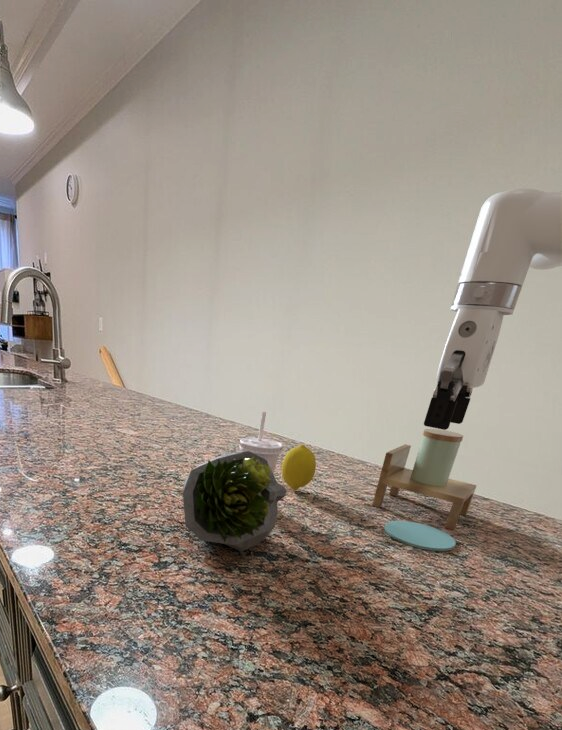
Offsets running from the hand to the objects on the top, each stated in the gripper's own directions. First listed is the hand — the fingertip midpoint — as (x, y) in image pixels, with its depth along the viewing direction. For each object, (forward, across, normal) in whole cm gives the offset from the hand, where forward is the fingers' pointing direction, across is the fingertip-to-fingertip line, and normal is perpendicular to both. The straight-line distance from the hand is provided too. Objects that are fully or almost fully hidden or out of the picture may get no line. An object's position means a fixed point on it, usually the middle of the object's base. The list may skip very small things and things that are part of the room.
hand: (443, 424), depth 68 cm
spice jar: (+9, 0, 0) cm, 9 cm away
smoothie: (+15, -21, +18) cm, 31 cm away
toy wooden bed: (+14, 0, 0) cm, 14 cm away
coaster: (+14, -12, -4) cm, 19 cm away
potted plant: (+15, -35, +12) cm, 40 cm away
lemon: (+14, -9, +18) cm, 24 cm away
